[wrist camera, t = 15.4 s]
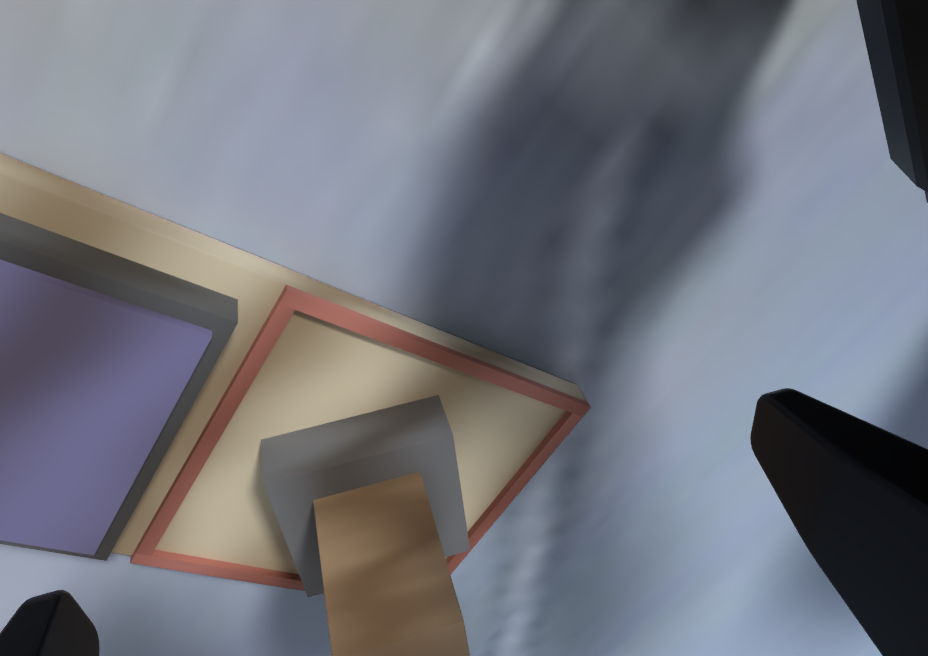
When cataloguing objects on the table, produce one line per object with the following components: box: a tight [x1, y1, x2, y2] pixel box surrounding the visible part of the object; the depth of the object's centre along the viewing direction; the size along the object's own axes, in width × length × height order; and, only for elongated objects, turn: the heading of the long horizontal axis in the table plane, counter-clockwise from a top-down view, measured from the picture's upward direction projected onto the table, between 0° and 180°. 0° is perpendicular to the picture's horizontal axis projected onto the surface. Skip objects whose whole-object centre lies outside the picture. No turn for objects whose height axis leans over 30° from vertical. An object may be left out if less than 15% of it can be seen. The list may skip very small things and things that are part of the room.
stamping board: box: [0, 153, 590, 594], centre depth 22 cm, size 24×12×2 cm, turn 57°
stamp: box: [261, 395, 470, 656], centre depth 22 cm, size 6×6×8 cm
